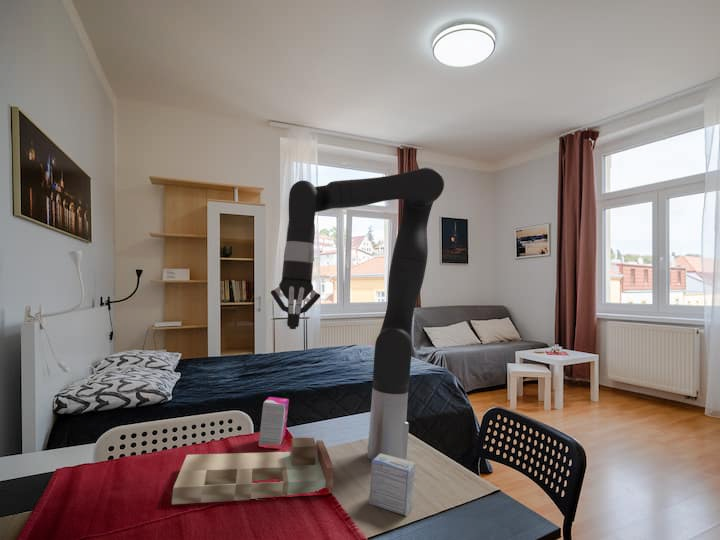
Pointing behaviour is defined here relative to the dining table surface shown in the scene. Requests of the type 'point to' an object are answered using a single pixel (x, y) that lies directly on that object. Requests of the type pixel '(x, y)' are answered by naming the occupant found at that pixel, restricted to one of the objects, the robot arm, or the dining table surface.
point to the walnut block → (303, 451)
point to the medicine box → (392, 484)
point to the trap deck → (249, 476)
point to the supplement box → (273, 421)
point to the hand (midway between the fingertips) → (292, 328)
